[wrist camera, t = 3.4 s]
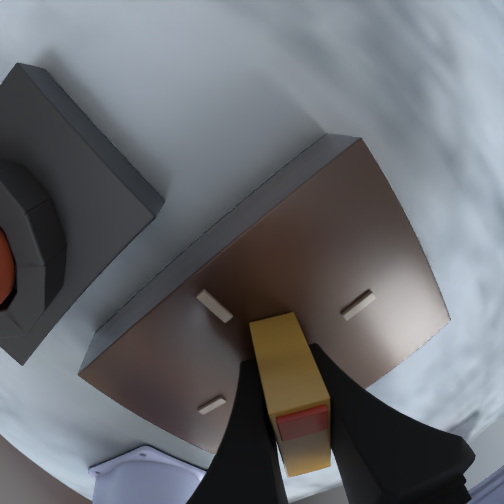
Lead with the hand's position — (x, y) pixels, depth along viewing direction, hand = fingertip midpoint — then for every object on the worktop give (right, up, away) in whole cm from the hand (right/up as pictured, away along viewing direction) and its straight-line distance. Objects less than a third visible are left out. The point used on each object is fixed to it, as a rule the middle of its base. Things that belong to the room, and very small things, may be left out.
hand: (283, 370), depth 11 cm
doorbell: (-11, +6, 0) cm, 13 cm away
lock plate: (0, +1, +3) cm, 3 cm away
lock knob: (0, 0, 0) cm, 0 cm away
